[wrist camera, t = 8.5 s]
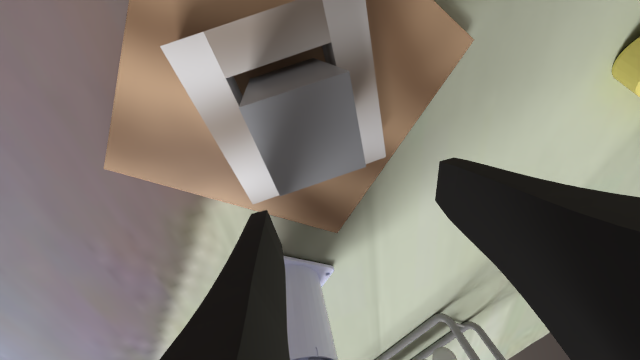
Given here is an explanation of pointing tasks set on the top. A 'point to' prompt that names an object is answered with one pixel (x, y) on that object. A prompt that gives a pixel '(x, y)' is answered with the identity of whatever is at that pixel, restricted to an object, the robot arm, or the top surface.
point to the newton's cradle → (443, 341)
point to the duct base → (259, 58)
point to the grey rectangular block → (304, 123)
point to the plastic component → (629, 67)
